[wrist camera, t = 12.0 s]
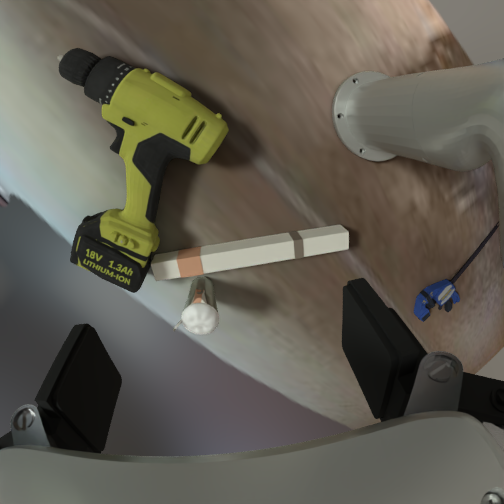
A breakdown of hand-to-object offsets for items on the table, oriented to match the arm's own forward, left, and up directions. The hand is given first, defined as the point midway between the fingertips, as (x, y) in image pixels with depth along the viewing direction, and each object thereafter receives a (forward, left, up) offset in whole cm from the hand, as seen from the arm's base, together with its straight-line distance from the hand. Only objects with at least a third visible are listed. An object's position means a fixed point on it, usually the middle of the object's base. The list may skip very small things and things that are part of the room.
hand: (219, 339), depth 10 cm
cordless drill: (+14, -6, -30) cm, 33 cm away
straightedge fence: (-3, +9, -29) cm, 31 cm away
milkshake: (+5, +14, -30) cm, 33 cm away
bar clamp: (-46, +20, -30) cm, 58 cm away
